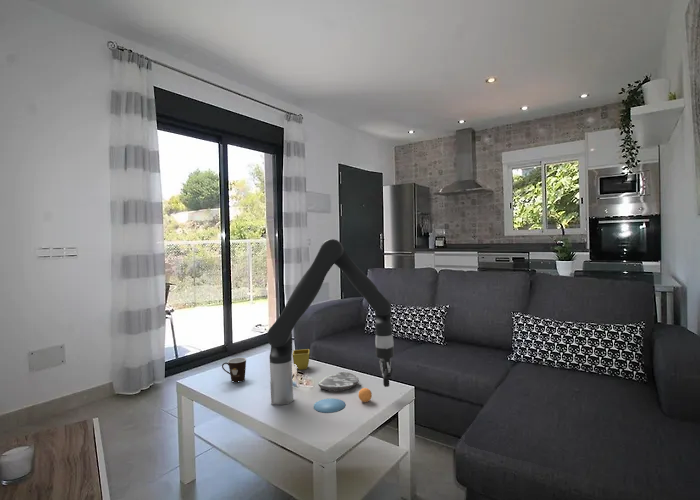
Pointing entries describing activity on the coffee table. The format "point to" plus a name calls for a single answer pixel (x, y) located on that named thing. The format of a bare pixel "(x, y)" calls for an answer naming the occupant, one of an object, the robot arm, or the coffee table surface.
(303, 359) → the flower pot
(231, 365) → the coffee mug
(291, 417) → the coffee table surface
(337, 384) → the brain slice
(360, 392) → the ball
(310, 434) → the coffee table surface
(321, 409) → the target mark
